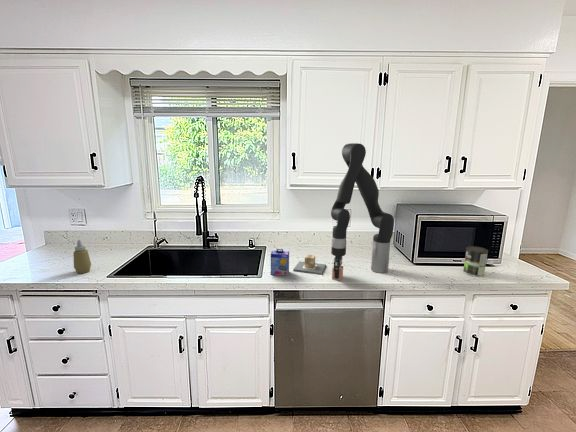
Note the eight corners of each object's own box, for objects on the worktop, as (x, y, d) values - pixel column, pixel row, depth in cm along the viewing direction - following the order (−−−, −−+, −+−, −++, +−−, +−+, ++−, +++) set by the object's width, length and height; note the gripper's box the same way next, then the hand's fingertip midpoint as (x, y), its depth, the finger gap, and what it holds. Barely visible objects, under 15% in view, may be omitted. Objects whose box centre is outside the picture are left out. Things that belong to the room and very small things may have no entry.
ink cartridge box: (270, 275, 169) (270, 249, 166) (271, 271, 174) (271, 246, 171) (288, 275, 168) (288, 250, 165) (289, 271, 173) (289, 246, 170)
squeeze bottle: (93, 268, 176) (89, 237, 172) (90, 273, 169) (85, 241, 165) (76, 270, 174) (72, 239, 170) (72, 275, 166) (67, 243, 162)
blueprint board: (325, 266, 182) (325, 264, 182) (321, 274, 170) (321, 272, 170) (299, 262, 187) (299, 260, 186) (293, 270, 174) (293, 268, 174)
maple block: (315, 265, 179) (315, 255, 178) (313, 268, 175) (313, 258, 173) (306, 264, 181) (306, 254, 180) (304, 267, 176) (304, 257, 175)
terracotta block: (342, 276, 167) (343, 266, 166) (341, 280, 163) (341, 269, 161) (333, 275, 169) (333, 265, 168) (331, 279, 164) (332, 268, 163)
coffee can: (467, 276, 169) (470, 251, 166) (460, 269, 179) (463, 245, 176) (487, 277, 167) (491, 252, 164) (479, 270, 177) (483, 246, 174)
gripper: (344, 250, 154) (342, 282, 158) (347, 242, 167) (346, 272, 171) (329, 249, 156) (328, 280, 160) (333, 241, 170) (332, 270, 173)
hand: (337, 276), depth 166 cm, fingers closed on terracotta block, 5 cm apart
